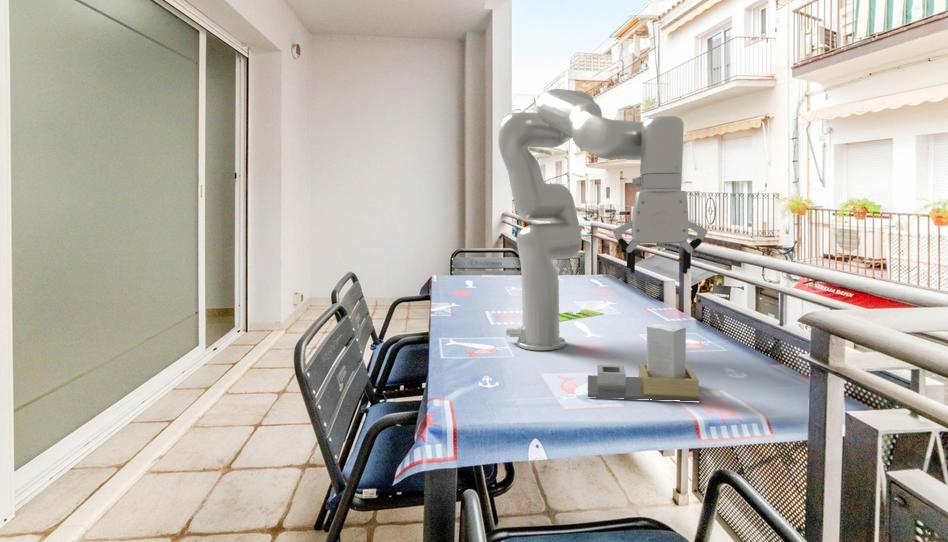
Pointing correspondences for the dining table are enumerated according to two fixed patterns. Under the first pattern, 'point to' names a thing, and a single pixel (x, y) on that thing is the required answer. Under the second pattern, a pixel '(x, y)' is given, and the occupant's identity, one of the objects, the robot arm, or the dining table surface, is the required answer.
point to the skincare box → (666, 351)
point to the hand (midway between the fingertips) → (657, 272)
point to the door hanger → (577, 315)
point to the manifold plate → (642, 385)
